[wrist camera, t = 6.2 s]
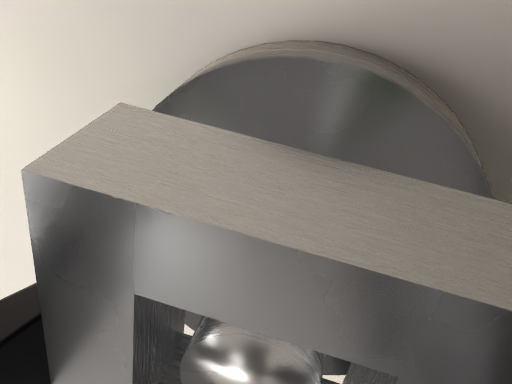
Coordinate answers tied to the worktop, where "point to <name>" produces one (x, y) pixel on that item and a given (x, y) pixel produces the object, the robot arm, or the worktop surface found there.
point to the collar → (259, 256)
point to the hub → (321, 142)
